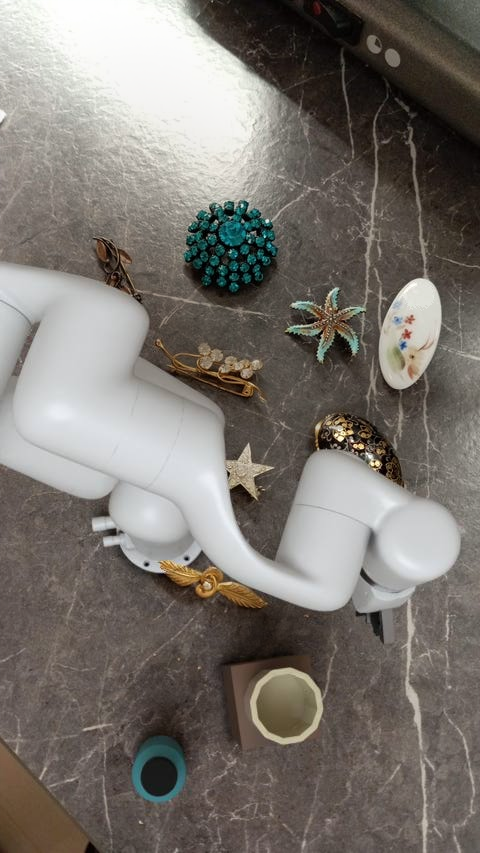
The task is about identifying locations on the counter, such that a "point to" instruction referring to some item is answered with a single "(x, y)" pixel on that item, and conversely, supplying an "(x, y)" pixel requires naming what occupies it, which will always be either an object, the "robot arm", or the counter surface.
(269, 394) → the counter surface
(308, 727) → the cream cup
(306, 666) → the stand
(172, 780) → the beverage bottle
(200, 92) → the counter surface
